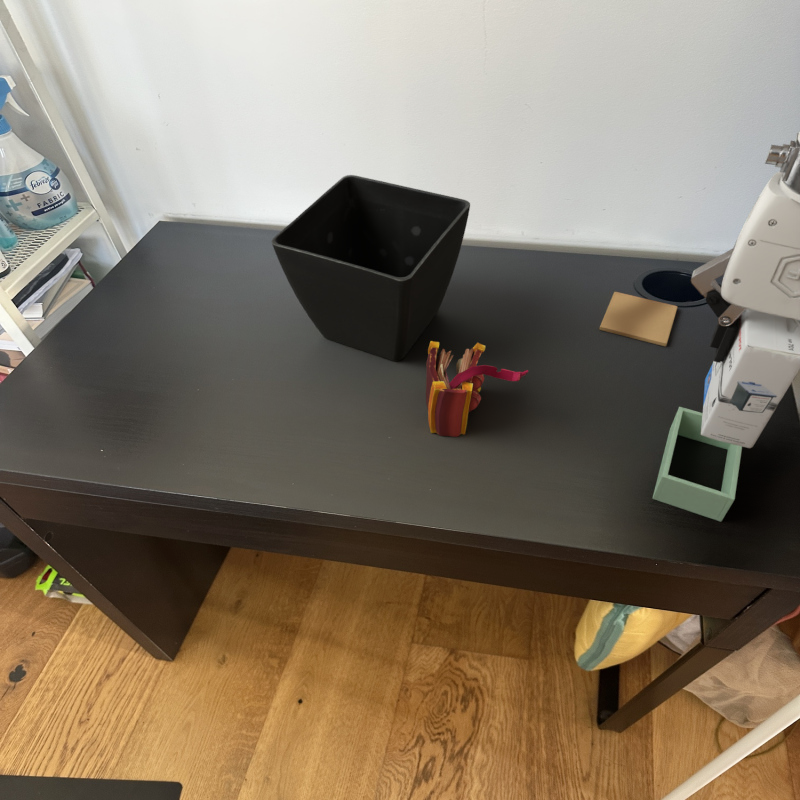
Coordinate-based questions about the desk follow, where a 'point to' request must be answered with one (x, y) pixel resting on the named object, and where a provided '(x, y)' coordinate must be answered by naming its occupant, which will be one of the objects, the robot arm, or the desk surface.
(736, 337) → the ink box
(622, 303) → the coaster board
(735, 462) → the sleeve
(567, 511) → the desk surface
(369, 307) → the flower pot
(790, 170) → the robot arm
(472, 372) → the book monster
